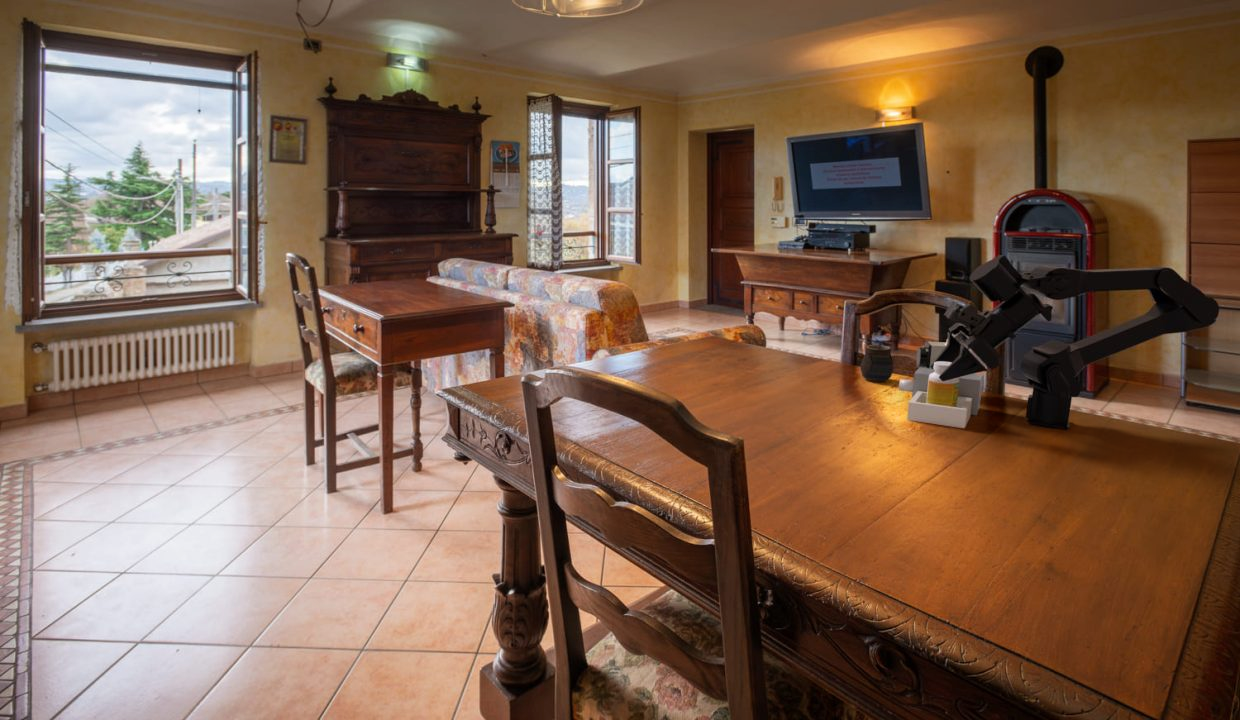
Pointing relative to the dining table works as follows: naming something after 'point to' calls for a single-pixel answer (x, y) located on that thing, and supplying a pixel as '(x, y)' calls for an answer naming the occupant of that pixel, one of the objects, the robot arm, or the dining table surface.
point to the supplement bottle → (942, 387)
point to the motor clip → (938, 413)
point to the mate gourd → (877, 363)
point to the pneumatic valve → (929, 353)
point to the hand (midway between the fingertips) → (936, 373)
